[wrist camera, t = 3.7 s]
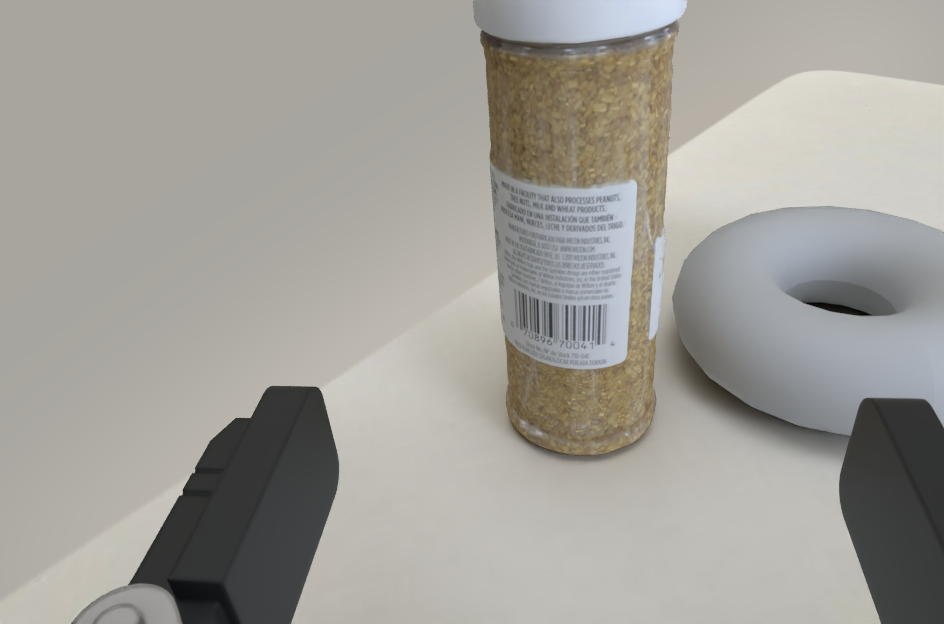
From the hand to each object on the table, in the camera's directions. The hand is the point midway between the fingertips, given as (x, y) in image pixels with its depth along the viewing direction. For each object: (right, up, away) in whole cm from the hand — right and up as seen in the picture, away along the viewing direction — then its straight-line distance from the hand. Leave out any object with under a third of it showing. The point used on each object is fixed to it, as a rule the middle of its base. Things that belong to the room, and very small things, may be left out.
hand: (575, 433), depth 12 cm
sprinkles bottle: (+2, -1, +12) cm, 12 cm away
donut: (+10, 0, +13) cm, 16 cm away
